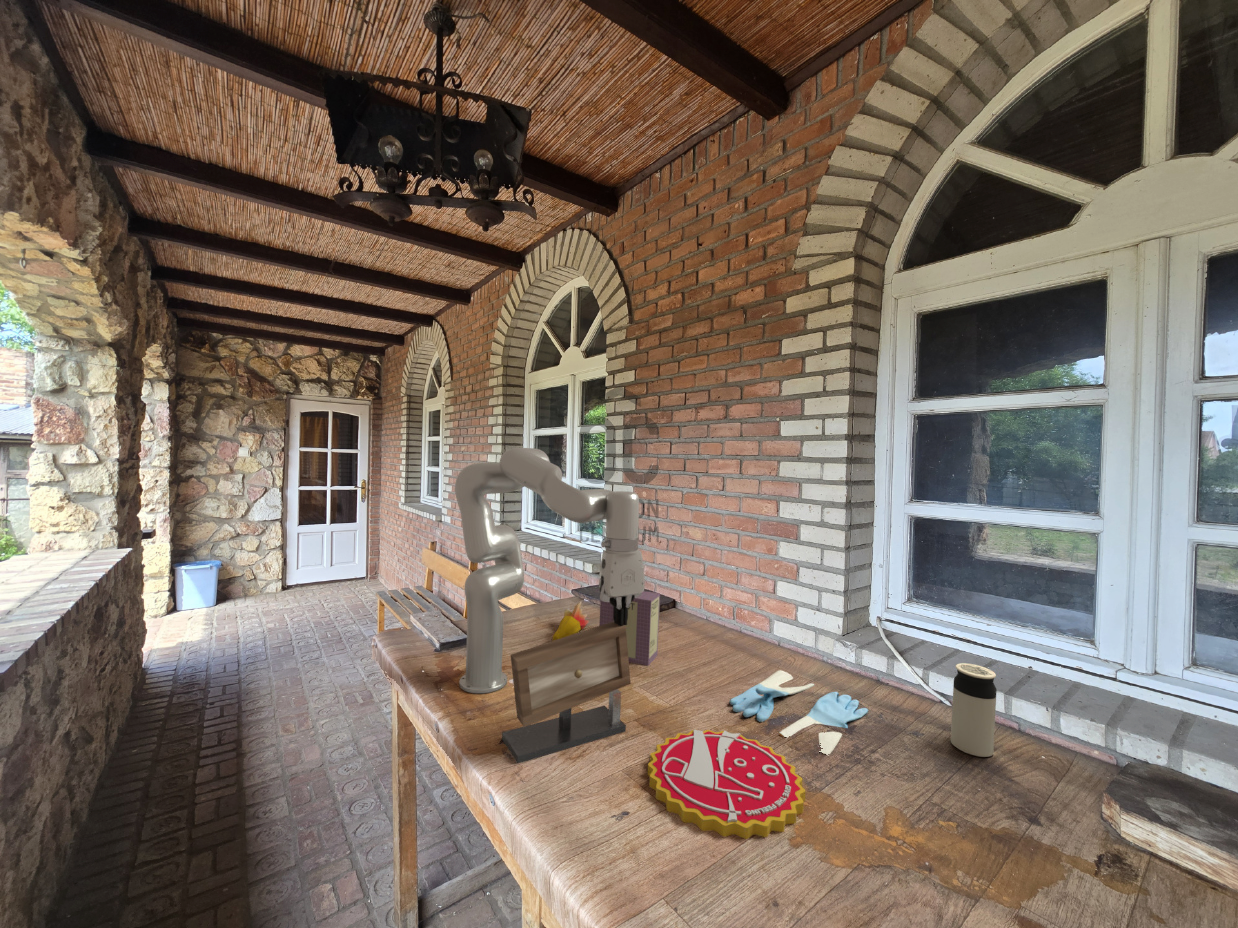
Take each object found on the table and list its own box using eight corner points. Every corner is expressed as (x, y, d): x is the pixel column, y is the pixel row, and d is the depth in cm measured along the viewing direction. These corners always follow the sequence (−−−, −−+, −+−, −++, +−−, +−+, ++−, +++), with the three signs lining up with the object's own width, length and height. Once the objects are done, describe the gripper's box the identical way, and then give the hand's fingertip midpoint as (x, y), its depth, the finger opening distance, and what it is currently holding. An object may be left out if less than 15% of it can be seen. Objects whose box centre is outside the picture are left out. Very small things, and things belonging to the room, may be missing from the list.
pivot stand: (501, 738, 111) (504, 666, 111) (604, 711, 124) (606, 647, 124) (517, 763, 102) (520, 685, 102) (625, 731, 116) (628, 662, 116)
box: (657, 655, 161) (660, 593, 161) (648, 665, 153) (650, 600, 152) (609, 645, 167) (611, 586, 167) (598, 655, 159) (600, 592, 159)
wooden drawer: (517, 717, 106) (510, 654, 105) (621, 676, 120) (616, 620, 118) (524, 728, 102) (518, 662, 101) (631, 684, 116) (627, 626, 114)
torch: (552, 659, 164) (577, 625, 188) (573, 651, 162) (595, 617, 186) (541, 636, 164) (567, 605, 188) (561, 628, 162) (584, 597, 186)
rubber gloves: (875, 708, 133) (876, 684, 133) (827, 759, 109) (829, 730, 109) (777, 674, 152) (778, 653, 151) (718, 712, 128) (719, 686, 128)
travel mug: (980, 761, 109) (985, 679, 109) (943, 742, 116) (947, 665, 116) (1000, 753, 113) (1004, 673, 113) (962, 734, 120) (966, 660, 120)
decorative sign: (658, 719, 117) (793, 739, 111) (657, 730, 117) (792, 751, 111) (637, 806, 88) (818, 840, 82) (636, 821, 88) (818, 856, 82)
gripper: (601, 550, 109) (600, 634, 109) (657, 545, 117) (656, 623, 117) (585, 544, 115) (584, 624, 116) (639, 540, 123) (638, 614, 123)
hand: (620, 623), depth 116 cm, fingers closed
